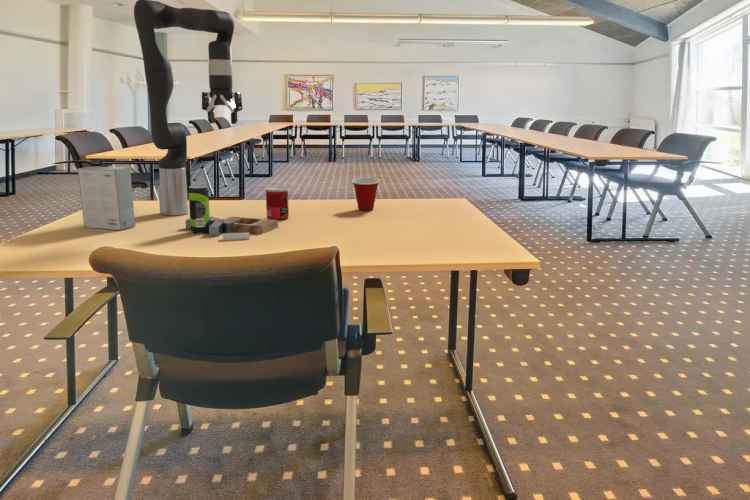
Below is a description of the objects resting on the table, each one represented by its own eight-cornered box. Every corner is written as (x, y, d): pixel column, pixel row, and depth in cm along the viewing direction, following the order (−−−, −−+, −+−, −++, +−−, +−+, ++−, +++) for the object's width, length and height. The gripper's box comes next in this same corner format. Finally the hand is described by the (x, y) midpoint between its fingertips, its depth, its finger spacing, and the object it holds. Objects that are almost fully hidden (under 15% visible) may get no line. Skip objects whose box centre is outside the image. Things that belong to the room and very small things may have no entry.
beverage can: (214, 231, 207) (212, 185, 204) (202, 234, 202) (199, 188, 198) (199, 229, 210) (197, 184, 206) (186, 232, 204) (183, 186, 201)
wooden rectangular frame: (214, 229, 209) (213, 222, 209) (231, 223, 219) (231, 216, 219) (262, 233, 204) (262, 226, 203) (278, 227, 214) (277, 220, 213)
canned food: (284, 221, 224) (283, 190, 222) (263, 220, 226) (262, 189, 223) (291, 217, 231) (291, 187, 229) (271, 216, 233) (270, 186, 230)
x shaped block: (213, 237, 199) (212, 227, 198) (182, 228, 211) (182, 219, 210) (239, 232, 206) (239, 223, 205) (208, 224, 218) (208, 215, 217)
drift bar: (249, 238, 199) (248, 232, 198) (249, 239, 197) (249, 233, 196) (223, 240, 196) (222, 233, 196) (223, 241, 194) (223, 235, 194)
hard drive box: (136, 226, 213) (131, 167, 208) (120, 231, 206) (115, 170, 201) (99, 223, 218) (93, 165, 213) (82, 227, 211) (76, 167, 206)
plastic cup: (348, 211, 243) (348, 180, 240) (355, 206, 253) (355, 177, 250) (376, 213, 241) (376, 181, 238) (382, 208, 251) (382, 178, 248)
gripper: (245, 74, 212) (246, 123, 216) (208, 74, 216) (210, 122, 220) (233, 73, 205) (235, 124, 209) (195, 73, 209) (198, 123, 213)
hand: (222, 123), depth 214 cm, fingers open, 8 cm apart
